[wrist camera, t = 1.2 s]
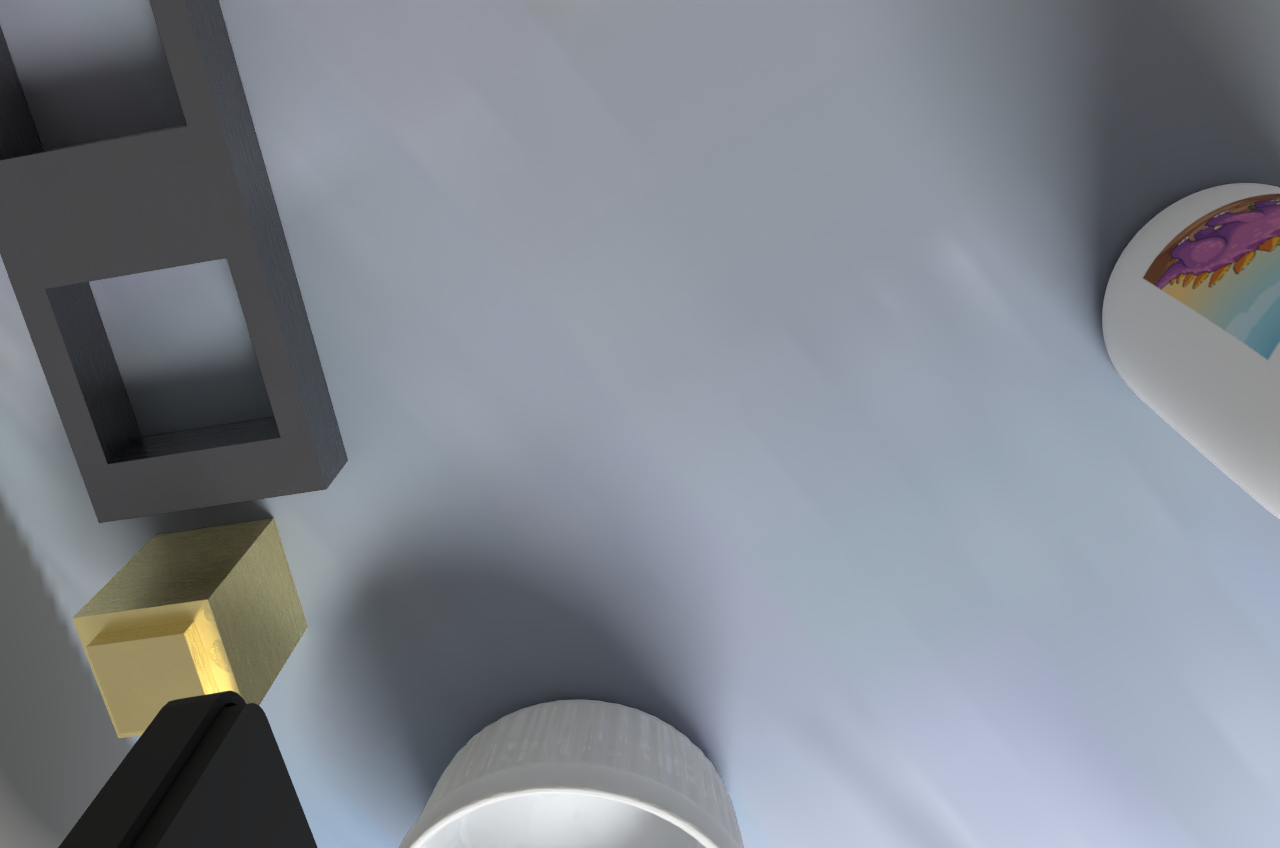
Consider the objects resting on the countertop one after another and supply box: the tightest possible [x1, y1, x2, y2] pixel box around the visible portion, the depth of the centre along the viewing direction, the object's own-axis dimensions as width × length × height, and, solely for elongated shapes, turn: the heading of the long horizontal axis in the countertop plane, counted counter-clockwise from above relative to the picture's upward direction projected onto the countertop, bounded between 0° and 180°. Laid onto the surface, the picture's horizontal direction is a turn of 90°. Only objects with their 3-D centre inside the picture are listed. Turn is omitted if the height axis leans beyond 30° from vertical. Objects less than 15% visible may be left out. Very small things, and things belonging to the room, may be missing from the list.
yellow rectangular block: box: [72, 518, 307, 738], centre depth 39 cm, size 4×4×7 cm
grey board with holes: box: [0, 0, 348, 523], centre depth 36 cm, size 20×8×2 cm, turn 10°
